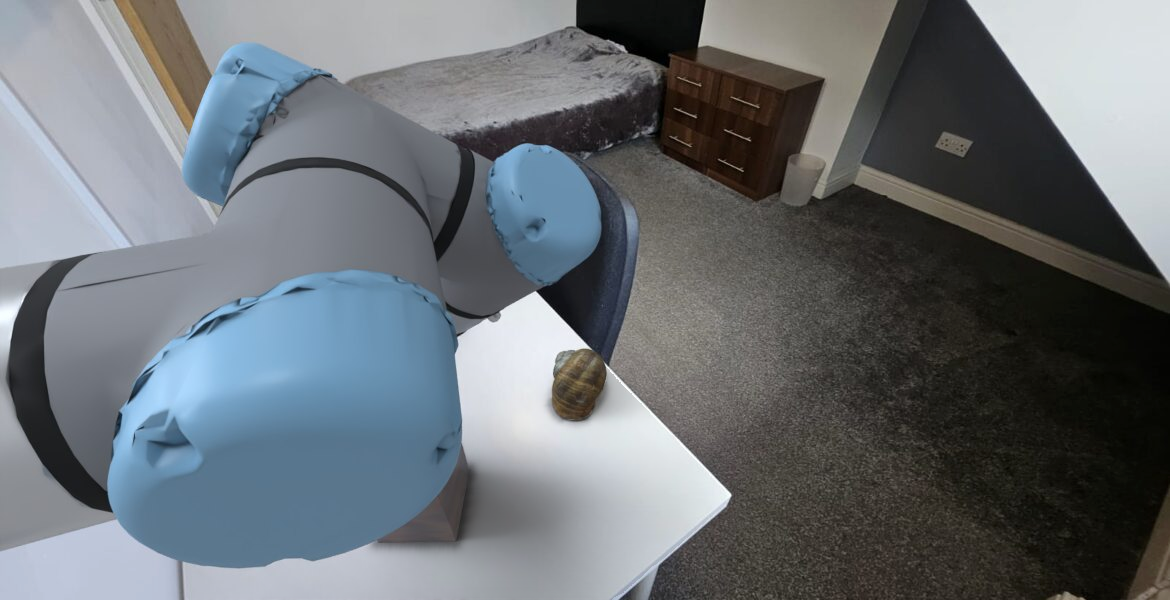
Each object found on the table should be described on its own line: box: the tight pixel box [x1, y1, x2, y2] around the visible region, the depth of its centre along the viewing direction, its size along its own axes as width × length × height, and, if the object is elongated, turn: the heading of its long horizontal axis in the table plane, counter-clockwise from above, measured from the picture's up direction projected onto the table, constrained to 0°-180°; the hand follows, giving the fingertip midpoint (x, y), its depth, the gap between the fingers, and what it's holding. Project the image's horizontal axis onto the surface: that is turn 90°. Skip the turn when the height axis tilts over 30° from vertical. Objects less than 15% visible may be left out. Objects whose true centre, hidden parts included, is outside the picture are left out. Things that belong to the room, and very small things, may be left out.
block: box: [376, 443, 470, 543], centre depth 59 cm, size 10×10×14 cm
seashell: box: [551, 347, 608, 421], centre depth 76 cm, size 11×9×8 cm
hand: (345, 363), depth 52 cm, fingers closed on milkshake, 5 cm apart
